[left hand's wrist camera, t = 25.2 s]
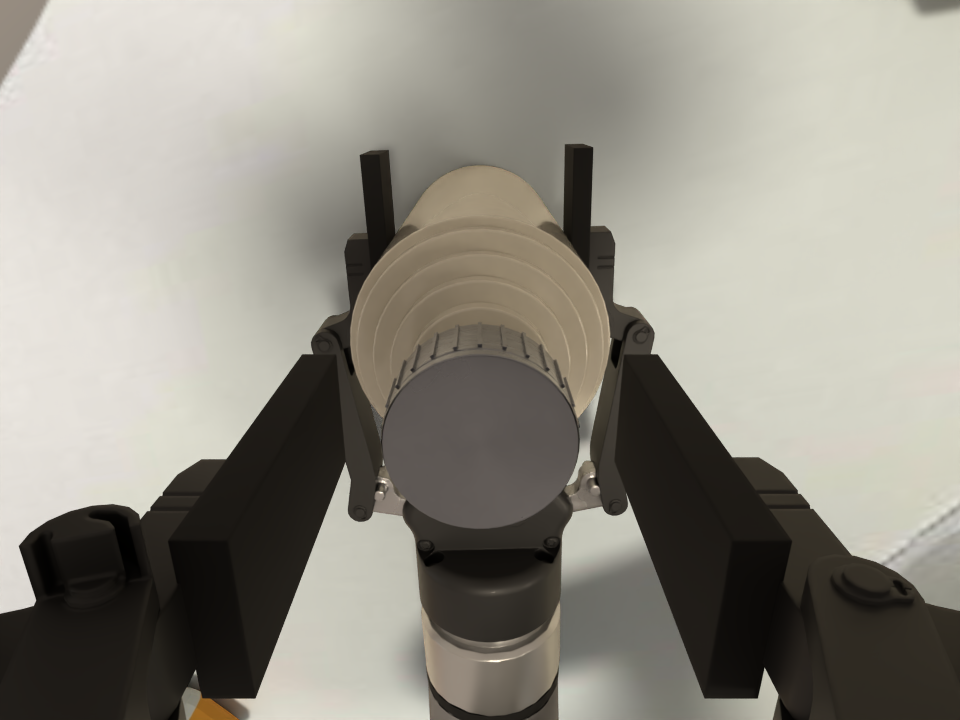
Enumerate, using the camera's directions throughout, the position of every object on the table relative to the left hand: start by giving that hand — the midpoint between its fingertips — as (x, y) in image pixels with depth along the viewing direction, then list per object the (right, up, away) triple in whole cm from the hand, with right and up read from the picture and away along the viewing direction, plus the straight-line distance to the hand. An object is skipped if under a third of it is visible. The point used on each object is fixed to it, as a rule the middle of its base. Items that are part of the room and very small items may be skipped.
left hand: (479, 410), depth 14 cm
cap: (0, -1, -1) cm, 1 cm away
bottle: (0, +7, +19) cm, 20 cm away
